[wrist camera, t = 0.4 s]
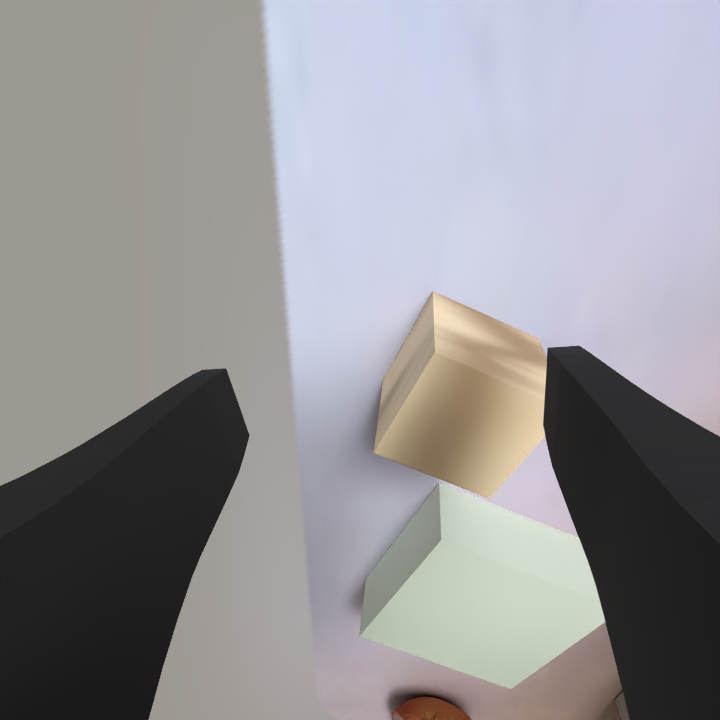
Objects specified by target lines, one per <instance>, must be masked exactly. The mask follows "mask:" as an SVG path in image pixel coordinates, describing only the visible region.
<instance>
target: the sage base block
mask: <svg viewBox="0 0 720 720" xmlns="http://www.w3.org/2000/svg"><path fill="white" fill-rule="evenodd" d="M603 623H605V618H604V615H603V611H602V607H601V603H600V599H599V596H598V592H597V588H596V585H595V581H594V578H593V575H592V572H591V569H590V566H589V563H588V560H587V558H586V555H585V552H584V550H583V547H582V544H581V542H580V539H579V538H578V537H575V536H572V535H570V534H567V533H565V532H562V531H560V530H557V529H555V528H552V527H550V526H547V525H545V524H542V523H540V522H537V521H535V520H532V519H530V518H527V517H525V516H522V515H520V514H517V513H515V512H512V511H510V510H507V509H505V508H502V507H500V506H497V505H495V504H492V503H490V502H487V501H485V500H482V499H480V498H477V497H475V496H472V495H470V494H467V493H465V492H462V491H459V490H457V489H454V488H452V487H449V486H447V485H444V484H442V483H438V485H437V486H436V487H435V489H434V490H433V491H432V493H431V494H430V495H429V496H428V498H427V499H426V500H425V502H424V503H423V504H422V506H421V507H420V508H419V510H418V511H417V512H416V514H415V515H414V516H413V518H412V519H411V520H410V521H409V523H408V524H407V525H406V527H405V528H404V529H403V531H402V532H401V533H400V535H399V536H398V537H397V539H396V540H395V541H394V542H393V544H392V545H391V546H390V548H389V549H388V550H387V552H386V553H385V554H384V556H383V557H382V558H381V560H380V561H379V562H378V563H377V565H376V566H375V567H374V569H373V570H372V571H371V573H370V574H369V575H368V577H367V578H366V582H365V591H364V599H363V608H362V617H361V626H360V635H359V637H362V638H365V639H368V640H371V641H374V642H377V643H380V644H382V645H385V646H388V647H391V648H394V649H397V650H400V651H403V652H405V653H408V654H411V655H414V656H417V657H420V658H423V659H426V660H428V661H431V662H434V663H437V664H440V665H443V666H446V667H449V668H452V669H454V670H457V671H460V672H463V673H466V674H469V675H472V676H475V677H477V678H480V679H483V680H486V681H489V682H492V683H495V684H498V685H500V686H503V687H506V688H509V689H512V688H513V687H514V686H516V685H517V684H519V683H520V682H522V681H523V680H524V679H526V678H527V677H529V676H530V675H531V674H533V673H534V672H536V671H537V670H538V669H540V668H541V667H543V666H544V665H545V664H547V663H548V662H550V661H551V660H553V659H554V658H555V657H557V656H558V655H560V654H561V653H562V652H564V651H565V650H567V649H568V648H569V647H571V646H572V645H574V644H575V643H576V642H578V641H579V640H581V639H582V638H584V637H585V636H586V635H588V634H589V633H591V632H592V631H593V630H595V629H596V628H598V627H599V626H600V625H602V624H603Z"/></svg>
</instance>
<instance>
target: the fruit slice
mask: <svg viewBox="0 0 720 720" xmlns="http://www.w3.org/2000/svg"><path fill="white" fill-rule="evenodd" d="M392 720H471V719H470V717H469V716H468V715H467V714H466V713H465V712H463V711H462V710H460V709H459V708H458V707H456V706H454V705H452V704H450V703H448V702H446V701H443V700H441V699H437V698H433V697H419V698H414V699H411V700H409V701H406V702H405V703H403V704H401V705H400V706H399V707H397V708H396V709H395V710H394V712H393V713H392Z"/></svg>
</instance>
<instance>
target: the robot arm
mask: <svg viewBox="0 0 720 720" xmlns="http://www.w3.org/2000/svg"><path fill="white" fill-rule="evenodd" d="M543 427H544V432H545V437H546V441H547V446H548V450H549V454H550V458H551V463H552V467H553V469H554V472H555V475H556V478H557V480H558V483H559V486H560V488H561V491H562V494H563V497H564V499H565V502H566V505H567V507H568V510H569V513H570V515H571V518H572V521H573V523H574V526H575V528H576V531H577V534H578V536H579V539H580V542H581V544H582V547H583V550H584V552H585V555H586V558H587V560H588V563H589V566H590V569H591V572H592V575H593V578H594V581H595V585H596V588H597V592H598V596H599V599H600V603H601V607H602V611H603V615H604V618H605V622H606V626H607V630H608V634H609V637H610V641H611V645H612V650H613V654H614V658H615V662H616V666H617V670H618V674H619V678H620V682H621V686H622V690H623V694H624V698H625V702H626V707H627V711H628V715H629V720H720V437H719V436H718V435H716V434H714V433H712V432H710V431H708V430H707V429H705V428H703V427H701V426H700V425H698V424H696V423H695V422H693V421H691V420H690V419H688V418H686V417H684V416H683V415H681V414H679V413H678V412H676V411H674V410H673V409H671V408H670V407H668V406H666V405H665V404H663V403H662V402H660V401H659V400H657V399H655V398H654V397H652V396H651V395H649V394H648V393H646V392H645V391H643V390H642V389H640V388H639V387H637V386H636V385H634V384H633V383H632V382H630V381H629V380H627V379H626V378H624V377H623V376H622V375H620V374H619V373H617V372H616V371H615V370H613V369H612V368H610V367H609V366H608V365H606V364H605V363H603V362H602V361H601V360H599V359H598V358H596V357H595V356H594V355H592V354H591V353H589V352H588V351H586V350H585V349H583V348H582V347H580V346H569V347H554V348H548V353H547V369H546V385H545V401H544V417H543ZM248 439H249V433H248V430H247V427H246V425H245V422H244V419H243V416H242V413H241V410H240V407H239V404H238V401H237V399H236V396H235V393H234V390H233V387H232V384H231V382H230V379H229V376H228V373H227V370H226V369H212V370H201V371H200V372H197V373H195V374H193V375H192V376H190V377H188V378H186V379H185V380H183V381H181V382H180V383H178V384H177V385H175V386H174V387H172V388H170V389H169V390H167V391H166V392H164V393H163V394H161V395H160V396H158V397H156V398H155V399H153V400H152V401H150V402H149V403H147V404H146V405H144V406H143V407H141V408H140V409H138V410H137V411H135V412H133V413H132V414H130V415H129V416H127V417H126V418H124V419H123V420H121V421H119V422H118V423H116V424H115V425H113V426H111V427H109V428H108V429H106V430H105V431H103V432H101V433H100V434H98V435H97V436H95V437H93V438H92V439H90V440H88V441H87V442H85V443H83V444H82V445H80V446H78V447H76V448H75V449H73V450H71V451H69V452H68V453H66V454H64V455H62V456H60V457H58V458H57V459H55V460H53V461H51V462H49V463H47V464H45V465H43V466H41V467H39V468H37V469H35V470H33V471H31V472H29V473H27V474H25V475H23V476H21V477H19V478H17V479H15V480H13V481H11V482H8V483H6V484H4V485H2V486H0V720H148V719H149V715H150V712H151V708H152V705H153V701H154V697H155V694H156V690H157V686H158V682H159V679H160V675H161V672H162V668H163V665H164V661H165V658H166V655H167V652H168V648H169V645H170V642H171V639H172V635H173V632H174V629H175V625H176V622H177V619H178V616H179V613H180V610H181V607H182V604H183V602H184V599H185V596H186V593H187V590H188V587H189V584H190V581H191V578H192V575H193V573H194V571H195V568H196V566H197V563H198V561H199V558H200V556H201V554H202V552H203V550H204V547H205V545H206V543H207V541H208V538H209V536H210V534H211V532H212V530H213V528H214V526H215V524H216V521H217V519H218V517H219V515H220V513H221V511H222V508H223V506H224V504H225V502H226V500H227V498H228V495H229V493H230V491H231V489H232V487H233V484H234V482H235V480H236V478H237V475H238V473H239V470H240V467H241V463H242V460H243V457H244V453H245V450H246V446H247V442H248Z"/></svg>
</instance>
